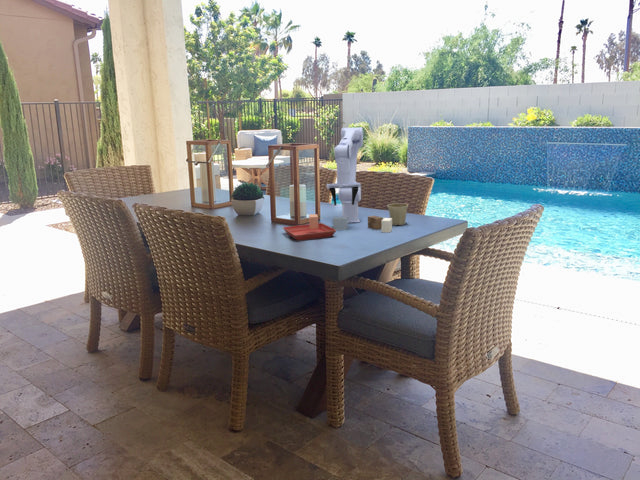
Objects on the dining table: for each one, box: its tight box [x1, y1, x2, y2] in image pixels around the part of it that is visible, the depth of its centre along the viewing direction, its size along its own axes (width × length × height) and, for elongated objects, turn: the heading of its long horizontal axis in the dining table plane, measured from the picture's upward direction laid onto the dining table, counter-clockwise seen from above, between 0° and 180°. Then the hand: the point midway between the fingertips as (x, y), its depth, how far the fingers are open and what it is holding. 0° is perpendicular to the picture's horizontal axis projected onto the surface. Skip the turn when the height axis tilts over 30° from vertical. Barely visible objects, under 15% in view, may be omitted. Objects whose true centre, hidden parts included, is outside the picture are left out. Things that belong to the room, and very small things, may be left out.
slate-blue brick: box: [332, 216, 349, 231], centre depth 229 cm, size 6×4×5 cm, turn 83°
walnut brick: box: [367, 215, 384, 231], centre depth 228 cm, size 6×4×5 cm, turn 33°
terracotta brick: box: [308, 213, 319, 229], centre depth 221 cm, size 6×4×5 cm, turn 3°
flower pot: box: [386, 202, 409, 226], centre depth 234 cm, size 9×9×9 cm
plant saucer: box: [282, 222, 337, 241], centre depth 220 cm, size 18×18×3 cm
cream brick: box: [381, 217, 393, 233], centre depth 223 cm, size 6×4×5 cm, turn 163°
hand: (344, 204), depth 228 cm, fingers open, 7 cm apart
